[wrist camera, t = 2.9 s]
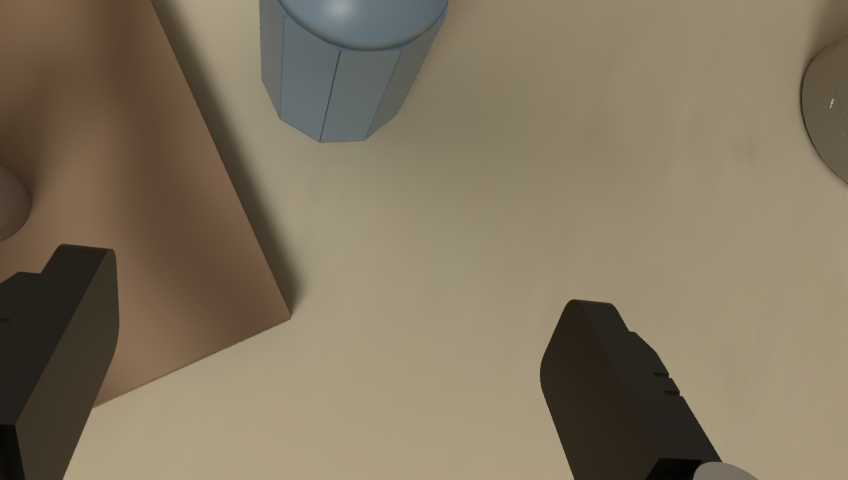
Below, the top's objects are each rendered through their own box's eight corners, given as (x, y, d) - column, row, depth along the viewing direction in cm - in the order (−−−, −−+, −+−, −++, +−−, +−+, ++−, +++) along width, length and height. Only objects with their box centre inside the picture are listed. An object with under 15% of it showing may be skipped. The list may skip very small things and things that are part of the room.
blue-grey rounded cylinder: (366, -4, 29) (407, -160, 20) (424, 117, 28) (491, 10, 20) (241, 34, 27) (227, -120, 18) (300, 164, 26) (315, 68, 18)
